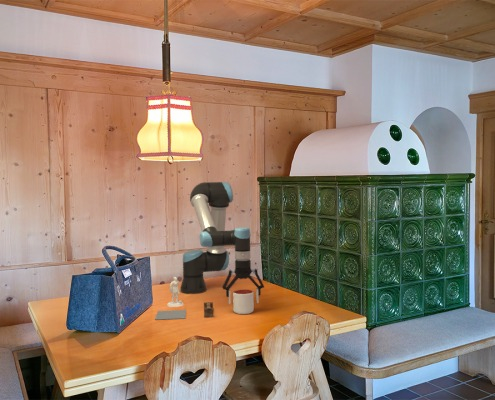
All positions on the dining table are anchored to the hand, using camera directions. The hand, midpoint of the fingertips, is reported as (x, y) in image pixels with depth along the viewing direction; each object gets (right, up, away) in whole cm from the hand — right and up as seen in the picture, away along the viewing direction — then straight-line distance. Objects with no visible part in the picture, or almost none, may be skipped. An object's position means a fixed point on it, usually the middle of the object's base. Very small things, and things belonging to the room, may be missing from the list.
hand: (243, 302), depth 233 cm
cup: (0, -5, 0) cm, 5 cm away
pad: (-35, -5, -3) cm, 35 cm away
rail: (-17, -5, -2) cm, 18 cm away
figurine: (-36, -5, +16) cm, 39 cm away
